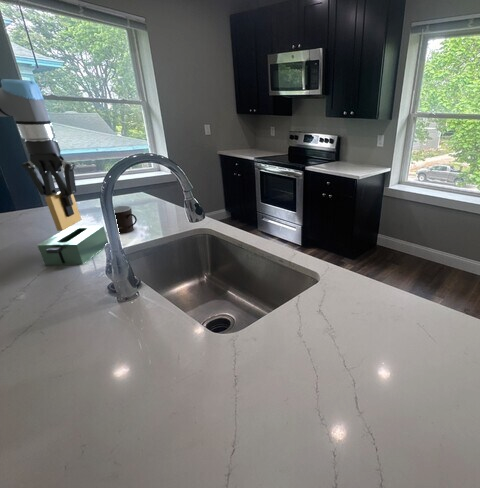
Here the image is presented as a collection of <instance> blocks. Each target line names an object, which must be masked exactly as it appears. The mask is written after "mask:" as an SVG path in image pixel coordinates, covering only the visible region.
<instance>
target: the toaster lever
mask: <svg viewBox="0 0 480 488" xmlns="http://www.w3.org/2000/svg"><path fill="white" fill-rule="evenodd" d="M62 250H63V249H62V247H50V248H49V249H47V250H46V252H47V254H50V253H59V252H61V251H62Z"/></svg>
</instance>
